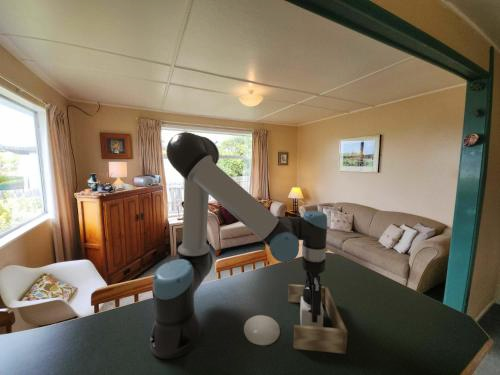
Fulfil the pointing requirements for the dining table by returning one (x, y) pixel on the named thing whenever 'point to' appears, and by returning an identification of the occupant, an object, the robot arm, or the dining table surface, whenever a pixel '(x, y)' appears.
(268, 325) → the saucer
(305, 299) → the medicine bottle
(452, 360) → the dining table surface
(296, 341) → the cubby
